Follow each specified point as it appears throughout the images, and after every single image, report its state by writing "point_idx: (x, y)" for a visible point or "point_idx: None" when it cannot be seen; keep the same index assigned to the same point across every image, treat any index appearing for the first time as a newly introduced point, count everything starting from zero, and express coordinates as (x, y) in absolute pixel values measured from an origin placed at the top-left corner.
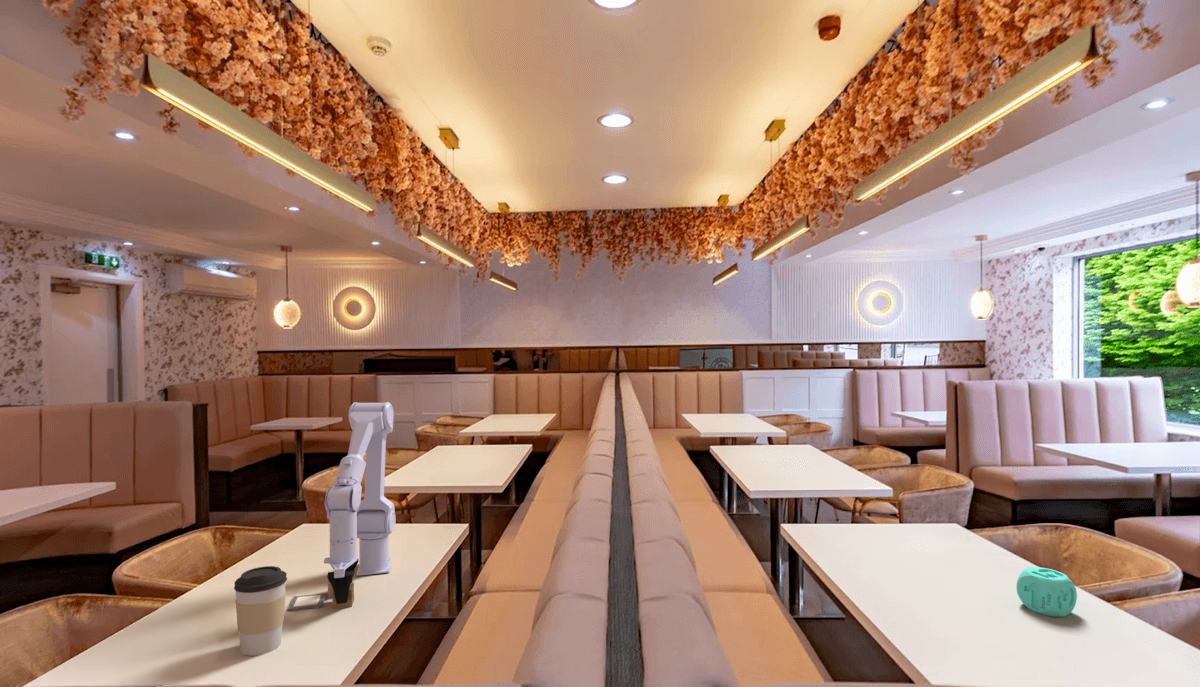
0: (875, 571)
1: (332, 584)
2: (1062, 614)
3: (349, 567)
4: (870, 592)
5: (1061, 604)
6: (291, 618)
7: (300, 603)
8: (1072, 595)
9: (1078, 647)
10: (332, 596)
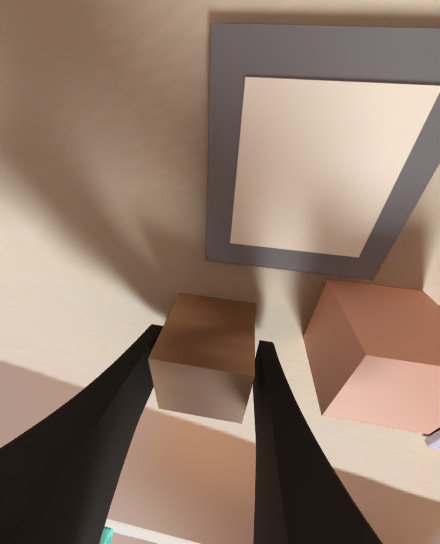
0: (157, 535)
1: (39, 426)
2: None
3: (260, 541)
4: (129, 526)
5: None
6: (93, 99)
7: (280, 135)
8: None
9: None
10: (321, 296)
